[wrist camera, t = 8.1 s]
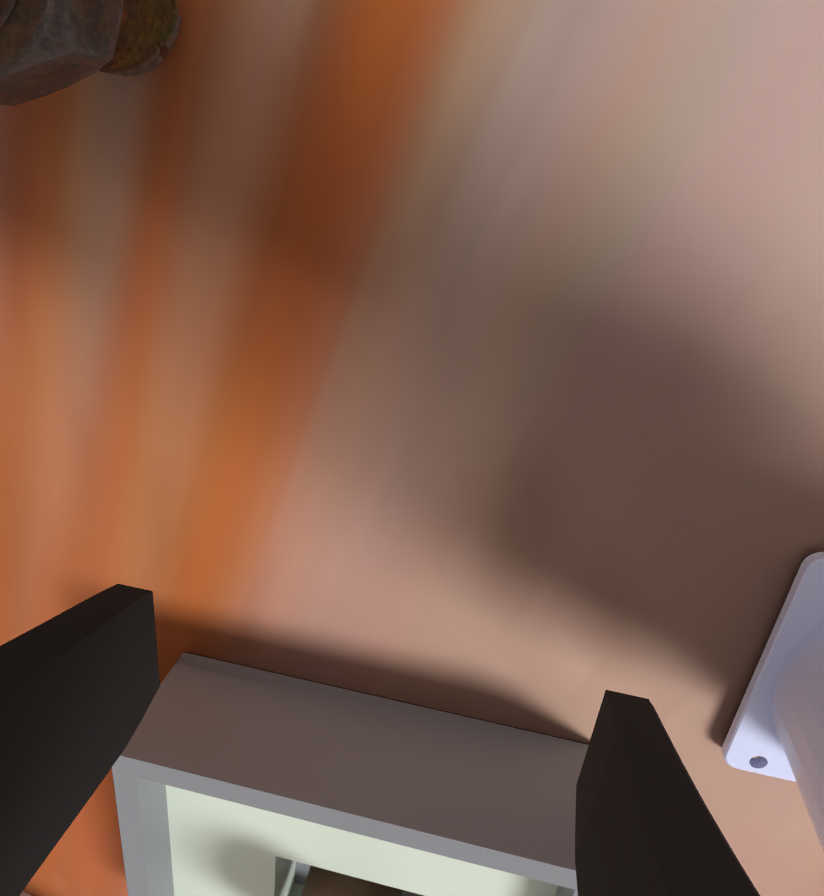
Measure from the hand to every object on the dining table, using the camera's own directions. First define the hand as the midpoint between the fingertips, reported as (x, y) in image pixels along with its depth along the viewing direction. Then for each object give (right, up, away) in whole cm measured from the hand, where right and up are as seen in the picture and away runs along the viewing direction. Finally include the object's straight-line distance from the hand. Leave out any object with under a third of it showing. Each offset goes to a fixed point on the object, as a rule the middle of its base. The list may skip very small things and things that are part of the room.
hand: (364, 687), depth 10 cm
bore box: (-1, -12, +16) cm, 20 cm away
